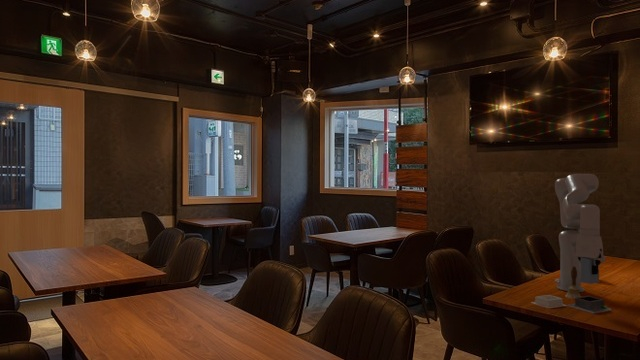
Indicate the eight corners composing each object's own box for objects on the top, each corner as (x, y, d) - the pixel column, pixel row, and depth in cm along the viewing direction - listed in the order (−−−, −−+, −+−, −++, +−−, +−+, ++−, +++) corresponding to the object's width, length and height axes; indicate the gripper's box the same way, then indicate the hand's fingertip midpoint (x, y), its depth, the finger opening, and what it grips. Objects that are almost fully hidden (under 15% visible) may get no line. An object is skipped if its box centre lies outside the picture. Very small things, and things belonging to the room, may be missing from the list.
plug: (580, 282, 194) (580, 254, 194) (589, 280, 196) (589, 253, 196) (589, 283, 190) (589, 255, 190) (598, 282, 192) (598, 254, 192)
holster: (530, 304, 202) (530, 296, 202) (548, 301, 207) (548, 293, 207) (549, 310, 193) (549, 301, 193) (567, 307, 197) (567, 299, 197)
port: (567, 307, 197) (567, 296, 197) (585, 304, 201) (585, 294, 201) (593, 315, 186) (593, 303, 186) (611, 312, 190) (611, 300, 190)
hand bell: (586, 299, 211) (586, 267, 211) (578, 302, 206) (578, 269, 206) (569, 295, 217) (569, 264, 218) (560, 298, 213) (560, 266, 213)
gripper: (566, 231, 200) (566, 270, 199) (602, 234, 184) (602, 277, 184) (578, 230, 203) (578, 269, 202) (614, 234, 187) (614, 276, 187)
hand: (589, 272), depth 193 cm, fingers closed on plug, 4 cm apart
